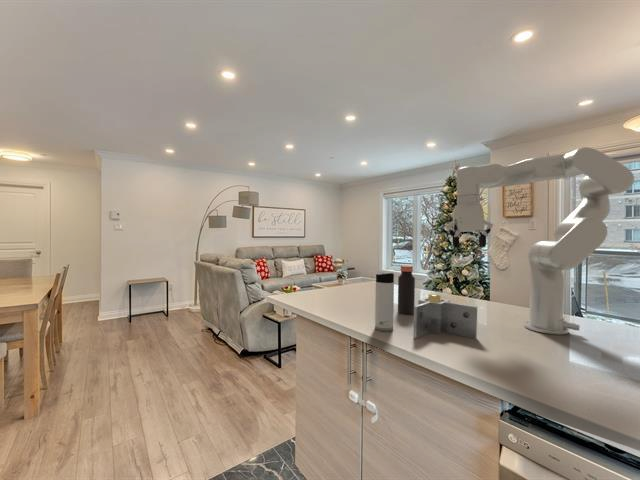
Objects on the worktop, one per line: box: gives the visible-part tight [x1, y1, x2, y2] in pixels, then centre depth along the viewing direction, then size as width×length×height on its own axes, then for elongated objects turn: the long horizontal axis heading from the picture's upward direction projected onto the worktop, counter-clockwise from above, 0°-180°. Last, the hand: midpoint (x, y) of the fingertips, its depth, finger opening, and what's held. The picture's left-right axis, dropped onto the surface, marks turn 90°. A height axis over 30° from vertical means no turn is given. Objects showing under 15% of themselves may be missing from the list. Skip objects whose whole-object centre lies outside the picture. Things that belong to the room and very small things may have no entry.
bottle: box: [397, 264, 416, 316], centre depth 129 cm, size 7×7×20 cm
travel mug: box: [374, 272, 395, 333], centre depth 107 cm, size 6×7×20 cm
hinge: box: [412, 296, 478, 340], centre depth 100 cm, size 18×18×10 cm
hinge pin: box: [427, 293, 442, 303], centre depth 107 cm, size 4×4×12 cm
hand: (469, 247), depth 112 cm, fingers open, 9 cm apart
